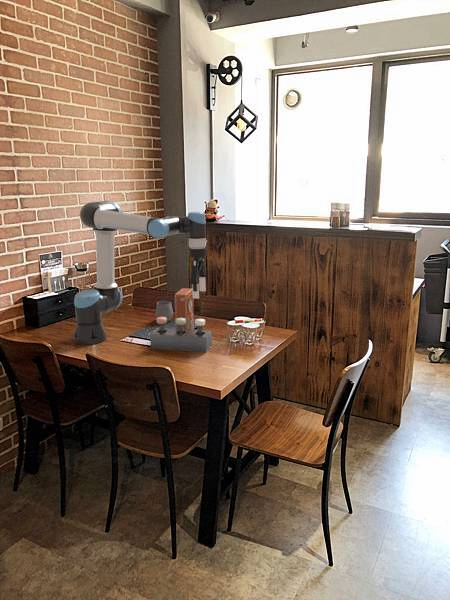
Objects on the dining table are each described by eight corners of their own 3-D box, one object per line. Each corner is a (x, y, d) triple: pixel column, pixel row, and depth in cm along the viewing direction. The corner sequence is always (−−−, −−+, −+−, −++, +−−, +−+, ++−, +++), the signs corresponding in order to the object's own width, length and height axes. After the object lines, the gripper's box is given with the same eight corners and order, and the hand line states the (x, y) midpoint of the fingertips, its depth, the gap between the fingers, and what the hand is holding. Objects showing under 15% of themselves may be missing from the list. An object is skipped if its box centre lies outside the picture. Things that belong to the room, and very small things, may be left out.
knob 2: (194, 338, 224) (193, 321, 222) (196, 335, 229) (196, 318, 226) (204, 339, 223) (203, 321, 221) (206, 336, 228) (206, 319, 226)
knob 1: (155, 336, 228) (155, 319, 226) (159, 333, 232) (158, 316, 230) (165, 337, 227) (164, 319, 225) (168, 334, 231) (167, 317, 229)
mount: (150, 348, 227) (150, 334, 225) (158, 341, 236) (157, 327, 234) (206, 352, 222) (206, 337, 220) (211, 344, 231) (211, 330, 229)
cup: (164, 317, 276) (163, 299, 274) (176, 319, 271) (176, 302, 269) (152, 321, 269) (151, 303, 267) (165, 324, 264) (164, 305, 261)
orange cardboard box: (195, 328, 255) (187, 338, 241) (182, 328, 256) (173, 337, 242) (194, 288, 250) (186, 295, 236) (181, 287, 251) (172, 294, 237)
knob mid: (174, 337, 226) (174, 320, 224) (177, 334, 230) (177, 317, 228) (184, 338, 225) (184, 320, 223) (187, 335, 229) (186, 318, 227)
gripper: (199, 251, 207) (201, 301, 212) (211, 243, 231) (213, 288, 236) (182, 251, 208) (184, 301, 213) (196, 243, 232) (197, 288, 237)
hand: (199, 294), depth 225 cm, fingers open, 13 cm apart
